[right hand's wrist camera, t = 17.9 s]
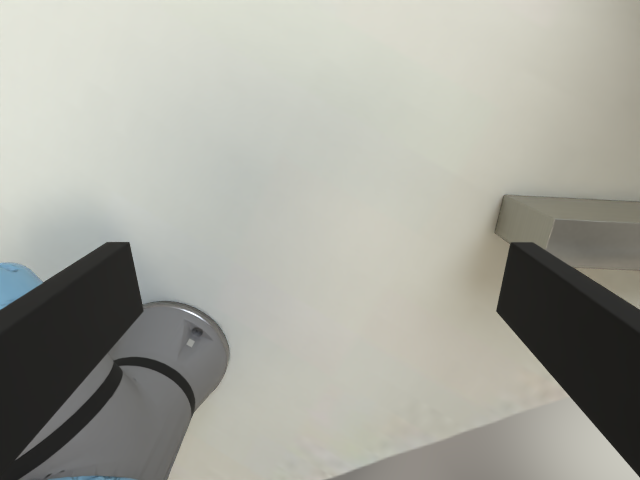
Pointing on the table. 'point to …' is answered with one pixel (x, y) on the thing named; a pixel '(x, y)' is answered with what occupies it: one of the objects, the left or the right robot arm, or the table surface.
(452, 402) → the table surface
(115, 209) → the table surface
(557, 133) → the table surface
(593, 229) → the bar
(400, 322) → the table surface
